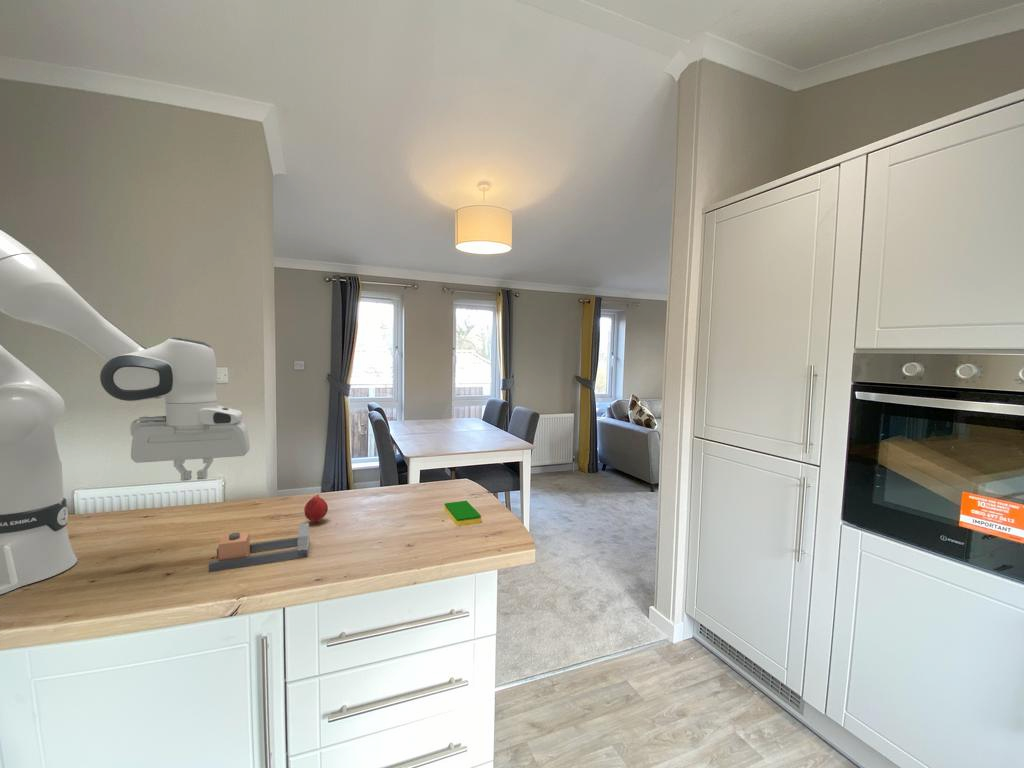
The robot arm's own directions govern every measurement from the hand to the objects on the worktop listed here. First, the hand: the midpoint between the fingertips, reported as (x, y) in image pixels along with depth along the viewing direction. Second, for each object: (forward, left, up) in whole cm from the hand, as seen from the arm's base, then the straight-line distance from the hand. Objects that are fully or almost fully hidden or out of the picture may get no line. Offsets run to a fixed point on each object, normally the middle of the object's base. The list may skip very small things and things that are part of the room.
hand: (194, 479), depth 90 cm
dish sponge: (+62, +8, -20) cm, 66 cm away
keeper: (+7, 0, -19) cm, 20 cm away
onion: (+23, +17, -19) cm, 35 cm away
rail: (+12, 0, -19) cm, 23 cm away
